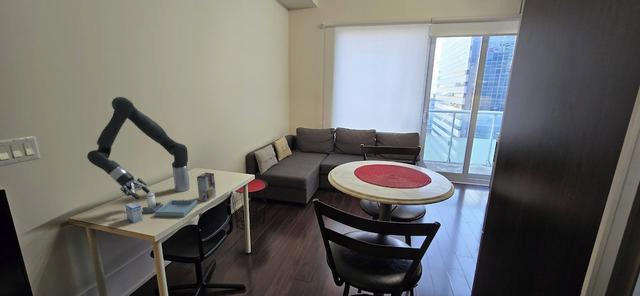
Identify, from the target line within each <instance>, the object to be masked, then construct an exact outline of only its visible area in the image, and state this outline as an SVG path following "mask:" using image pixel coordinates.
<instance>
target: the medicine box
mask: <svg viewBox="0 0 640 296" xmlns="http://www.w3.org/2000/svg"><path fill="white" fill-rule="evenodd" d="M125 212H126V213H125V214H126V218H127V221H130V222H132V223H133V224H137V223H138V222H139V223H140V222H141V221H143V211H142V206H141V205H140V204H137V203H136V202H130V203H128V204H125Z"/></svg>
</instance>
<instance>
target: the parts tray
mask: <svg viewBox="0 0 640 296" xmlns="http://www.w3.org/2000/svg"><path fill="white" fill-rule="evenodd" d="M197 206H198V200H197V199H196V200H193V199H170V200H169V201H168V202H166V203H165V204H163V206H162V207H161V208H160V209H158V210H157V211H155V213H154V214H155V217H162V218H165V217H166V218H167V217H168V218H185V217H186V216H187V215H189V214H190V213H191V212H192V211H193V210H194V209H195V208H196V207H197Z"/></svg>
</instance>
